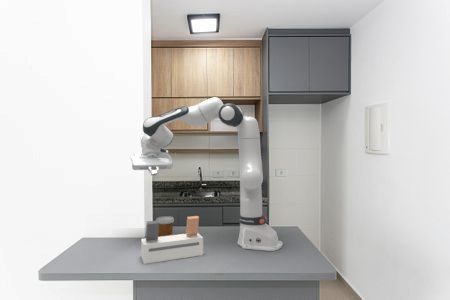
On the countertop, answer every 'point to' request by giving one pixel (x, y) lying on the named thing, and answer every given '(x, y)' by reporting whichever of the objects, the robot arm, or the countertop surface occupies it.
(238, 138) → the robot arm
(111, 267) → the countertop surface
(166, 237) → the switch box
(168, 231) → the disposable coffee cup
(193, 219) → the rocker terracotta
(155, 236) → the rocker charcoal
